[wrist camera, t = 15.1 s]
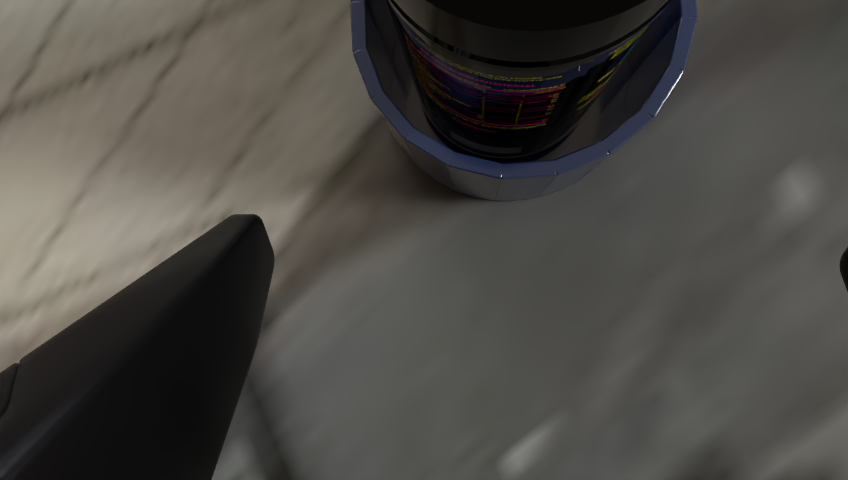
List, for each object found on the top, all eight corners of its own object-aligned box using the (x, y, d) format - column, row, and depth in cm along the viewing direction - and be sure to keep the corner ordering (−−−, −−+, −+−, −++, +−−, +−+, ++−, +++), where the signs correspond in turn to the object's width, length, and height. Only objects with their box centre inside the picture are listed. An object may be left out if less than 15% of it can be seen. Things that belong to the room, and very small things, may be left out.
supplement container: (607, -8, 18) (776, -358, 8) (586, 173, 18) (733, 49, 8) (427, -20, 19) (370, -355, 9) (404, 153, 19) (318, 17, 9)
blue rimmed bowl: (601, 228, 18) (648, 214, 14) (354, 167, 20) (313, 133, 15) (665, -21, 19) (733, -124, 14) (417, -68, 20) (398, -179, 15)
